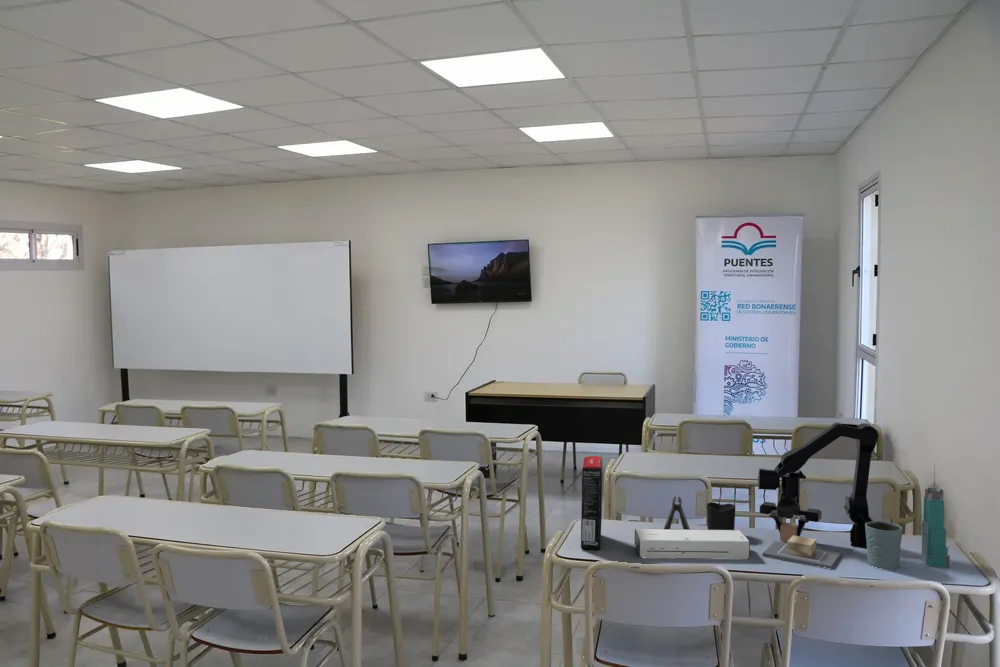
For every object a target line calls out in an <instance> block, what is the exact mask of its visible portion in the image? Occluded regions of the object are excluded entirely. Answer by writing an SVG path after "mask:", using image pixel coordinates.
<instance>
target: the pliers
mask: <svg viewBox="0 0 1000 667" xmlns="http://www.w3.org/2000/svg"><path fill="white" fill-rule="evenodd" d="M676 502H677V503H676ZM671 506H672V507H671V509H670V510H669V511H670V512H669V514H668V517H667V519H666V522H665V524H664V526H663V529H670V530H681V529H678V528H677V529H676V528H671V526H672V523H673V520H674V516H675V513H676V512H678V514H679V517H680V522H681V525H682V530H691V529H690V526H689V522H688V520H687V518H686V515H685V512H684V509H683V507H682V498H681V497H680V496H677V497H676V496H673V498H672V505H671Z"/></svg>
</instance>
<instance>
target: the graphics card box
mask: <svg viewBox="0 0 1000 667" xmlns="http://www.w3.org/2000/svg"><path fill="white" fill-rule="evenodd" d="M580 510H581V511H580V512H581V513H580V514H581V515H580V518H581V519H580V520H581V521H580V532H581V533H580V548H581V549H583V548H593V549H592V550H600V549H601V543H602V541H601V540H602V538H601V537H602V536H601V535H602V517H603V516H602V513H603V512H602V511H603V457H602V456H598V455H597V456H596V455H592V456H584V457H583V463H582V470H581V509H580Z"/></svg>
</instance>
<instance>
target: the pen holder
mask: <svg viewBox="0 0 1000 667" xmlns="http://www.w3.org/2000/svg"><path fill="white" fill-rule="evenodd" d="M706 518H707V519H706V520H707V521H706V522H707V526H706V527H707V530H735V523H736V522H735V521H736V505H734V504H733V503H723V504H721V503H717V502H713V501H712V502H708V503H706Z"/></svg>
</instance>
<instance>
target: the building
mask: <svg viewBox="0 0 1000 667" xmlns="http://www.w3.org/2000/svg"><path fill="white" fill-rule="evenodd" d="M924 490H925V491H924V496H923V519H922V521H921V561H923V562H924V563H925V565H927V566H928V567H936V568H950V564H951V563H950V561H951V560H950V557H951V556H950V555H949V548H948V547H947V529H946V528H945V527H944V526H945V524H944V523H945V501H944V490H943V489H942V488H940V486H939V485H937V484H936V465H934V472H933V484H929V487H927V488H926V487H925V489H924Z"/></svg>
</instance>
